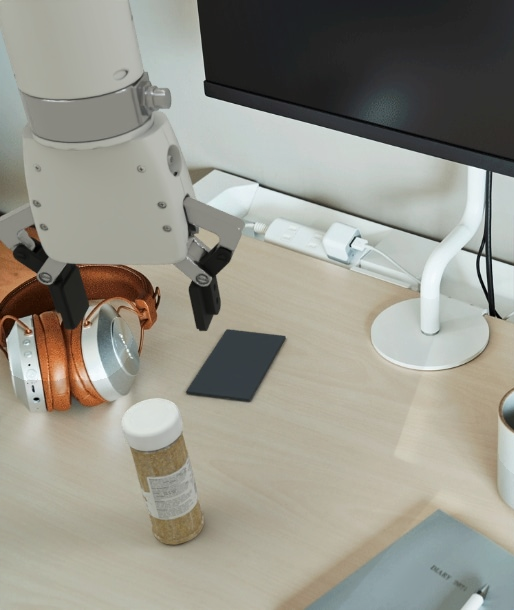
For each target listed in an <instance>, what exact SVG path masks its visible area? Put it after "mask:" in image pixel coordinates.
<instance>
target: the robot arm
mask: <svg viewBox="0 0 514 610" xmlns="http://www.w3.org/2000/svg"><path fill="white" fill-rule="evenodd" d="M132 12H133V11H132V7H131V1H130V0H0V32H1V35H2V38H3V42H4V47H5V50H6V53H7V56H8V60H9V63H10V66H11V69H12V72H13V76H14V80H15V83H16V86H17V89H18V93H19V96H20V101H21V104H22V106H23V110H24V113H25V116H26V120H27V123H26V125H25V126H24V127H23V129H22V132H21V133H22V134H21V137H22V158H23V169H24V177H25V185H26V189H27V195H28V200H29V201H28V202H26V203H24V204H22V205H20V206H18V207H16V208H14V209H12V210H11V211H8V212H7V213H5V214H3V215H1V216H0V242H1V243H2V244H3V245H4V246H5V248H7V249H8V250H10V251H12V256H13V258H14V260H15V261H17V262H18V263H20V264H22V265H23V266H25V267H26V268H28V269H29V270H31V271H32V272H33V273H35V274H36V279H37V280H38V282H39V283H41V284H43V285H45V286H48V290H49V294H50V296H51V299H52V302H53V305H54V306H53V307H54V309H55V312H56V313H57V314H60V317H61V320H62V323H63V327H64V329H65V330H66V331H69V330H70V331H72V330H73V331H74V330H76V329H77V328H78V326H79V325H80V324H81V322H82V320H83V319H84V317H85V315H86V313H87V311H88V310H89V309H90V302H89V298H88V295H87V292H86V288H85V284H84V281H83V278H82V275H81V271H80V268H79V266H77V265H107V266H108V265H114V266H116V265H117V266H119V265H123V266H125V265H126V266H127V265H128V266H130V265H131V266H165V265H173V266H174V267H176V268H177V269H178V271H180V272H181V273H182V274H184V275H185V276H186V277H187V278H189V279H190V280H191V281H190V284H189V286H188V295H189V300H190V305H191V310H192V314H193V318H194V319H193V320H194V324H195V329H196V330H198V331H199V332H208V330H209V328H210V325H211V323H212V320H213V319H214V316H218V315H219V313H220V311H221V306H222V300H221V294H220V289H219V284H218V278H217V275H218V274H220V273H221V271H222V270H224V268H226V266H228V265H229V263H230V262H231V260H232V257H234V253H235V251H236V249H237V247H238V244H239V242H240V240H241V237H242V235H243V233H244V231H245V228H246V222H245V221H244V220H243V219H241V218H240V217H238V216H236V215H235V216H234V215H233V214H230V213H228V212H226V211H223V210H221V209H218V208H216V207H214V206H211V205H210V204H207V203H205V202H202V201H200V200H198V199H197V196H196V193H195V189H194V185H193V182H192V179H191V175H190V172H189V169H188V166H187V163H186V160H185V157H184V154H183V151H182V149H181V146H180V143H179V140H178V138H177V135H176V133H175V131H174V129H173V126H172V125H171V123H170V120H169V118H168V116H167V114H166V113H165V112H164V111H160V110H170V109H171V105H172V94H171V90H170V88H168V87H158V86H157V85H153V84H152V82H151V80H150V77H149V72H148V71H145V69H144V64H143V59H142V55H141V50H140V46H139V40H138V35H137V31H136V26H135V20H134V16H133V13H132ZM33 225H34V226H35V230H36V233H37V236H38V239H37V238H35V237H33V236H29V233H28V231H27V230H26V229H27V228H29V227H31V226H33ZM201 229H202V230H204V231H207V232H210V233H212V234H214V235H216V236H217V237H218V242H217V243H215V245H214V246H213V248H210V247H209V246H208V245H206V244H205V243H204V242H203V241H202V240H201V239H199V237H197V236H196V234H199V233H200V231H201Z"/></svg>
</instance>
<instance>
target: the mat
mask: <svg viewBox="0 0 514 610" xmlns="http://www.w3.org/2000/svg"><path fill="white" fill-rule="evenodd" d="M285 341H286V335H283V334H281V335H280V334H273V333H266V332H265V333H263V332H256V331H246V330H237V329H230V328H227V329H225V331H224V332H223V334H222V335H221V337H220V338H219V340H218V342H217V343H216V344H215V346H214V347H213V350H212V351H211V352H210V354H209V355H208V357H207V358H206V360H205V361H204V363H203V365H202V366H201V367H200V369H199V371H198V372H197V374H196V375H195V377H194V378H193V380H192V381H191V383H190V384H189V386H188V387H187V388H186V390H185V394H186V395H192V396H199V397H207V398H216V399H222V400H223V399H224V400H230V401H231V400H232V401H240V402H247V403H250V402H251V401H252V399H253V398H254V395H255V394H256V392H257V390H258V388H259V387H260V385H261V383H262V382H263V380H264V377H265V376H266V374H267V373H268V371H269V369H270V368H271V365H272V364H273V362H274V360H275V358H276V356H277V355H278V353H279V351H280V350H281V348H282V346H283V345H284V342H285Z"/></svg>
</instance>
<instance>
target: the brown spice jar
mask: <svg viewBox="0 0 514 610" xmlns="http://www.w3.org/2000/svg"><path fill="white" fill-rule="evenodd" d="M120 425H121V430H122V434H123V437H124V440H125V442H126V444H127V445H128V447H129V449H130V452H131V456H132V460H133V463H134V467H135V471H136V477H137V481H138V485H139V487H140V491H141V494H142V497H143V502H144V505H145V508H146V511H147V513H148V515H149V519H150V523H151V530H152V534H153V536H154V537H155V539H156V540H157V541H159V542H160V543H162V544H165V545H175V546H176V545H180V544H183V543H187V542H189V541H191V540H193V539H194V538H196V537H197V536H198V535H200V532H201V531H202V530H203V527H204V526H205V515H204V512H203V511H202V508H201V505H200V500H199V491H198V487H197V483H196V479H195V475H194V471H193V468H192V463H191V458H190V455H189V451H188V449H187V446H186V441H185V438H184V437H185V436H184V434H183V432H184V431H183V430H184V423H183V418H182V415H181V411H180V409H179V407H178V405H176V403H175V402H173V401H171V400H169V399H166V398H158V397H154V398H148V399H144V400H141V401H139V402H137V403H135V404H133V405H131V406H130V407H129V408H128V409H127V410H126V411H124V413H123V415H122V418H121V421H120Z"/></svg>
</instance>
